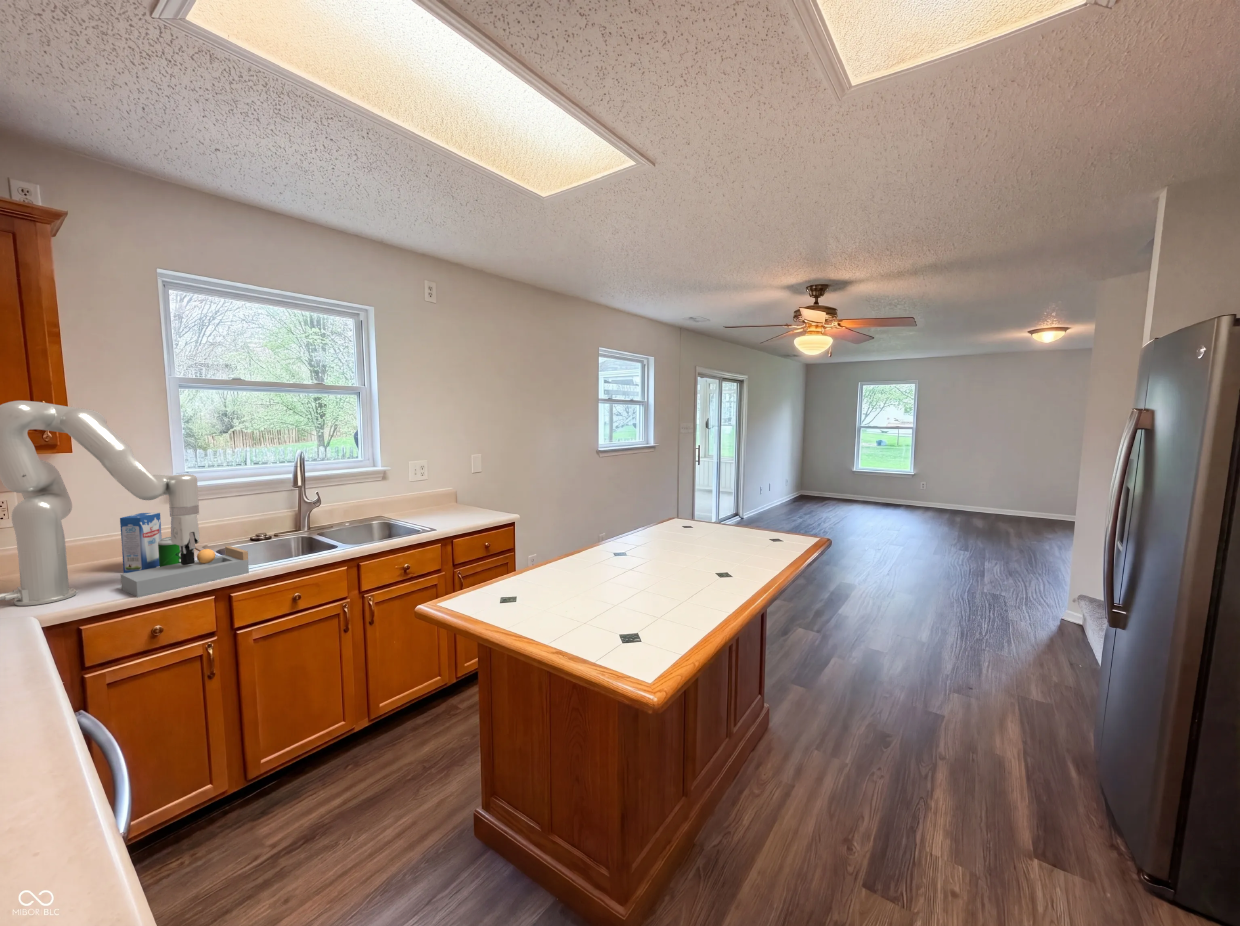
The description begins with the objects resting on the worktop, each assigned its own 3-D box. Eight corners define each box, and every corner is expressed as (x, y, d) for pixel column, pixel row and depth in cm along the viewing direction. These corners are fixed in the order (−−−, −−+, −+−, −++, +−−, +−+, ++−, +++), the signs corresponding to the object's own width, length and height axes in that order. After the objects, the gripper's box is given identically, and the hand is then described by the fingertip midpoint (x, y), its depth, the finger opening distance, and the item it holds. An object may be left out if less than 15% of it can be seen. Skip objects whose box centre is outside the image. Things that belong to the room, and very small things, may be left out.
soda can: (174, 573, 178) (172, 540, 177) (153, 573, 178) (151, 540, 177) (192, 567, 186) (190, 535, 185) (172, 567, 186) (171, 535, 185)
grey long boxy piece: (137, 597, 154) (136, 572, 154) (121, 589, 161) (120, 565, 161) (248, 572, 180) (247, 551, 179) (230, 566, 187) (229, 545, 186)
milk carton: (144, 565, 188) (141, 512, 186) (163, 564, 189) (160, 512, 187) (123, 573, 178) (119, 517, 176) (143, 572, 179) (140, 517, 177)
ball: (220, 552, 176) (213, 566, 174) (214, 550, 179) (207, 563, 177) (205, 548, 172) (197, 562, 170) (199, 546, 175) (191, 560, 173)
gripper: (161, 510, 169) (165, 563, 171) (179, 515, 162) (183, 570, 163) (189, 507, 176) (192, 558, 177) (207, 511, 168) (210, 564, 170)
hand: (187, 563), depth 170 cm, fingers closed
